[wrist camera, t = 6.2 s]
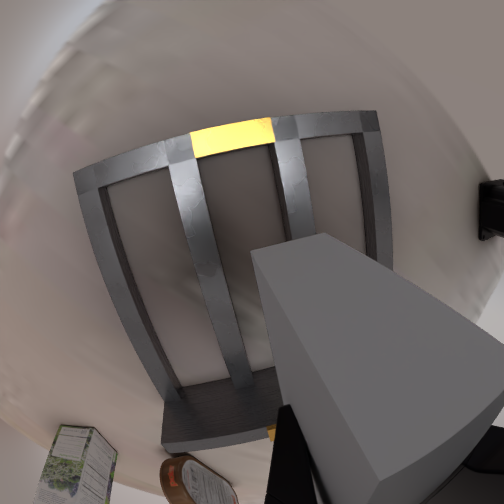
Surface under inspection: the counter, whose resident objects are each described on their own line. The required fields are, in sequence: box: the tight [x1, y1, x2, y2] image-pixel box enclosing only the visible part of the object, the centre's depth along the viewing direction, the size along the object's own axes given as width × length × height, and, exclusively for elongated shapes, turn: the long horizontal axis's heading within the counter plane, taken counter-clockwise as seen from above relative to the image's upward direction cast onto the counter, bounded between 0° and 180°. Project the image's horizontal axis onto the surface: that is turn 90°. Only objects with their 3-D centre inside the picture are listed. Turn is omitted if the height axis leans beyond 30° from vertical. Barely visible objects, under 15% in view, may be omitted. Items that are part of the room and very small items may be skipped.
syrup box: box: [33, 425, 118, 504], centre depth 15 cm, size 6×6×14 cm
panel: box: [250, 232, 504, 504], centre depth 6 cm, size 2×10×7 cm, turn 12°
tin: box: [160, 456, 239, 504], centre depth 22 cm, size 15×3×8 cm, turn 23°
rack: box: [73, 111, 393, 453], centre depth 16 cm, size 20×20×6 cm
